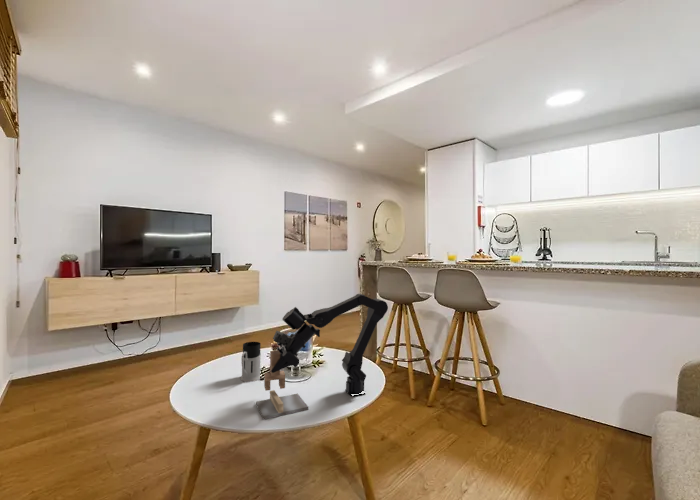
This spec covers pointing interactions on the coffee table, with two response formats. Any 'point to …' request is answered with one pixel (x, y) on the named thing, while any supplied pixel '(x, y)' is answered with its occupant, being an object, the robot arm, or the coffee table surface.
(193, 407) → the coffee table surface
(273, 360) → the wooden block
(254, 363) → the glass holder
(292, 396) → the cross plate base
